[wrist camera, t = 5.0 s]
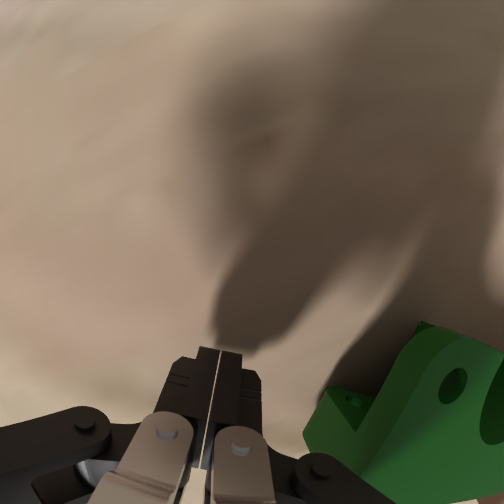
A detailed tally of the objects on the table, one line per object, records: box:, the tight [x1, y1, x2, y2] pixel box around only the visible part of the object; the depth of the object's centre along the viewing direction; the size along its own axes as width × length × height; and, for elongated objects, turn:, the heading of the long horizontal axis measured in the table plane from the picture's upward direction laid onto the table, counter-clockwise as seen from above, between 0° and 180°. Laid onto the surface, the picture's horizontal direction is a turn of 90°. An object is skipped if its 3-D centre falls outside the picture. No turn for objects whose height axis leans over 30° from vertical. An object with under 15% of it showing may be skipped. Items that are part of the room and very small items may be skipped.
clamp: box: [303, 321, 504, 504], centre depth 10 cm, size 12×6×9 cm, turn 60°
